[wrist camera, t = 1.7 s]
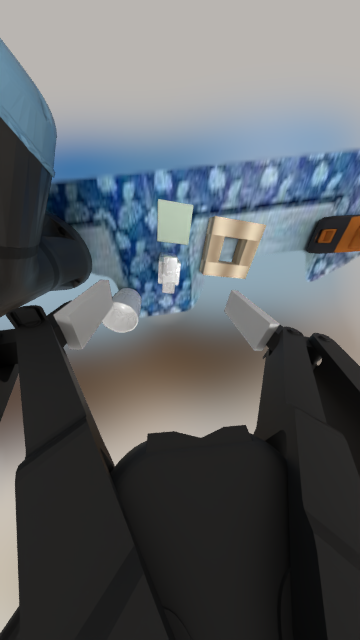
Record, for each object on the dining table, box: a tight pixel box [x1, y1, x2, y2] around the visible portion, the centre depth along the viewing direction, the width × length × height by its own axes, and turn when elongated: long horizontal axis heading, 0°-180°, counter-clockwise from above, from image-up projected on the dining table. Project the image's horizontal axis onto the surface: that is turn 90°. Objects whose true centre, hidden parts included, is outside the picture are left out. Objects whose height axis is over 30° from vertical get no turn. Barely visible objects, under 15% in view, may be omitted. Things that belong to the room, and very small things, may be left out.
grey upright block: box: [158, 252, 181, 293], centre depth 27 cm, size 4×6×14 cm, turn 173°
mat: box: [157, 199, 193, 245], centre depth 28 cm, size 7×7×1 cm
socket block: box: [199, 216, 266, 279], centre depth 30 cm, size 11×11×4 cm
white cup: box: [102, 288, 141, 332], centre depth 33 cm, size 8×8×10 cm
